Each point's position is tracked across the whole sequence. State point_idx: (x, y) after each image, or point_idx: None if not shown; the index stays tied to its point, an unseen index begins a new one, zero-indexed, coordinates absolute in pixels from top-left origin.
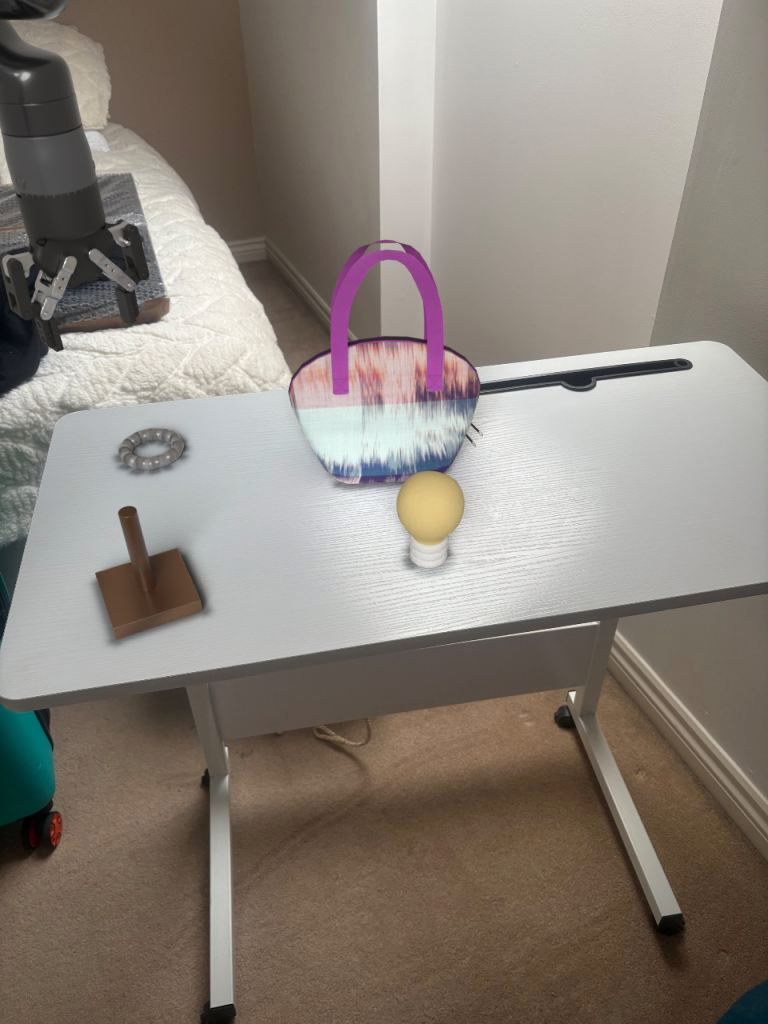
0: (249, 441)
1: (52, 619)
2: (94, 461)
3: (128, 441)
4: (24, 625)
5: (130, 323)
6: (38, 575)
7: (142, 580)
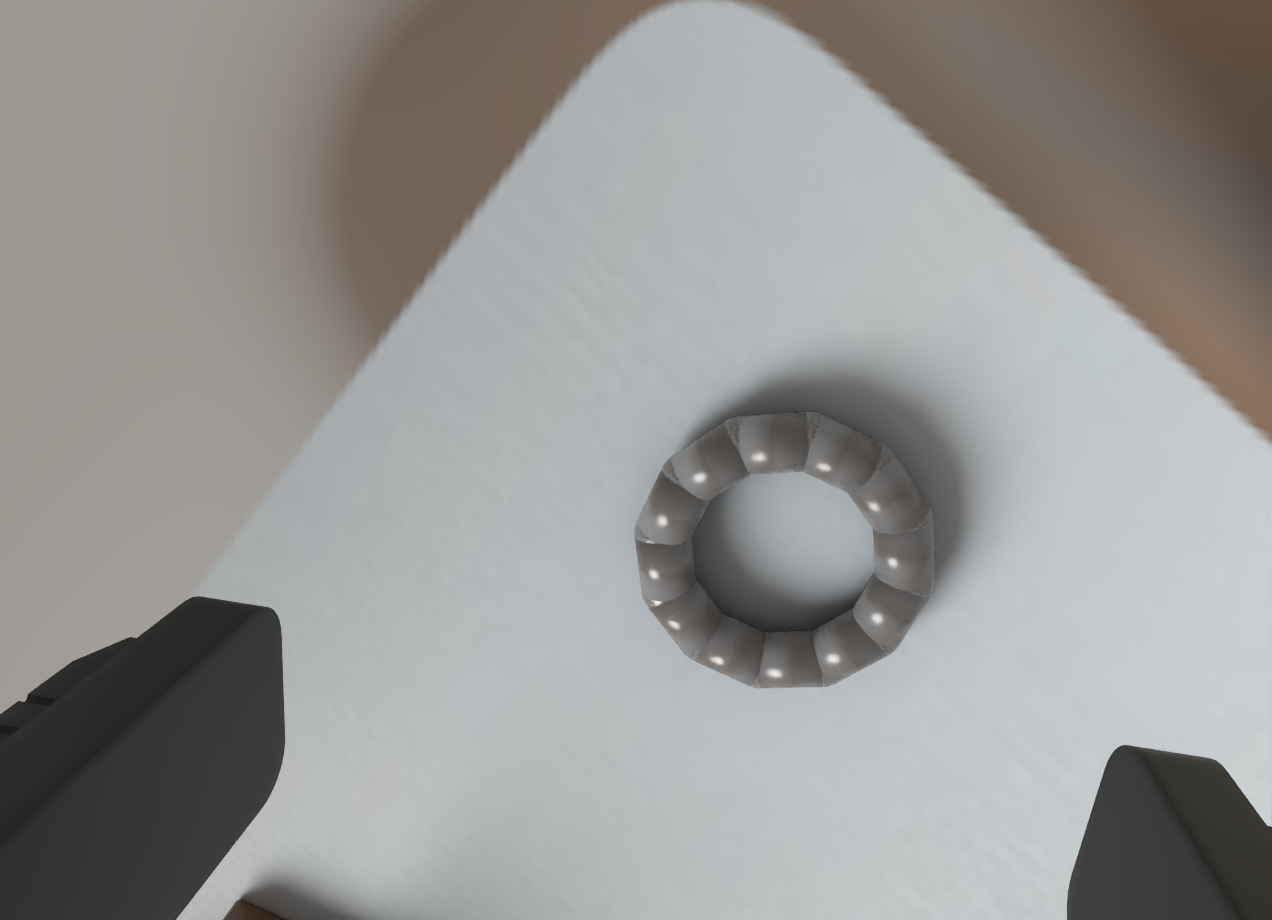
0: None
1: None
2: (575, 387)
3: (728, 473)
4: None
5: (1074, 915)
6: None
7: None
